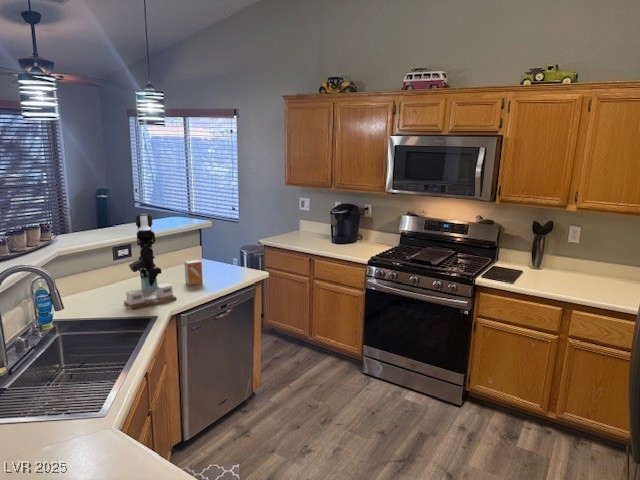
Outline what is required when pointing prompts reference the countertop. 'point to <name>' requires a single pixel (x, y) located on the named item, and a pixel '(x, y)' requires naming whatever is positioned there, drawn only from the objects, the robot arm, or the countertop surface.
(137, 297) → the mounted modules
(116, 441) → the countertop surface
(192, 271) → the small box
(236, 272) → the countertop surface
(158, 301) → the rail board
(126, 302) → the metal rail
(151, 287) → the block
